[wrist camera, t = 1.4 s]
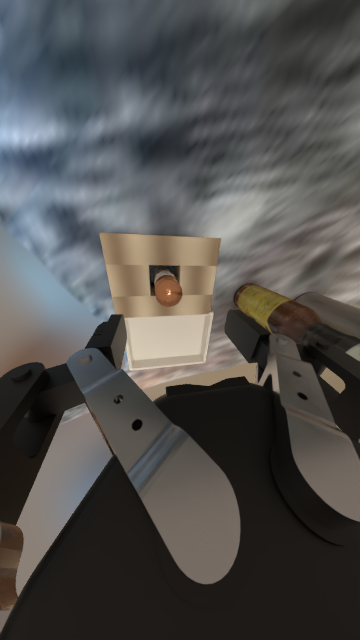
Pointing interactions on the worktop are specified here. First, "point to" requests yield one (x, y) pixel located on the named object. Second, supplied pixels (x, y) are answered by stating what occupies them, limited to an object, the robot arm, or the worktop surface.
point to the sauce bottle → (291, 318)
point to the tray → (167, 340)
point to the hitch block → (143, 250)
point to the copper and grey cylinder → (166, 286)
